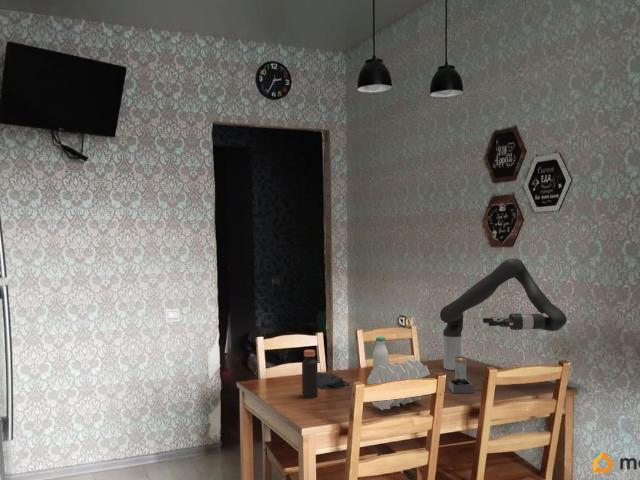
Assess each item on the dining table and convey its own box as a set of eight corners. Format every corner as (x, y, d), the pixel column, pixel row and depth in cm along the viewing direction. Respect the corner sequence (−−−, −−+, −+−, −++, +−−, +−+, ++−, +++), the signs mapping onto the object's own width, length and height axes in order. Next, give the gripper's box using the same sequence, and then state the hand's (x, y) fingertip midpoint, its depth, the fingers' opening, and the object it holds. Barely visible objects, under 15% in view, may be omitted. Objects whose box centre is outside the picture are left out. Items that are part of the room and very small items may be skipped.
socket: (448, 388, 264) (448, 380, 264) (468, 387, 265) (468, 379, 265) (453, 393, 255) (453, 385, 255) (473, 393, 256) (473, 384, 256)
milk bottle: (388, 380, 280) (387, 338, 280) (372, 379, 281) (371, 338, 281) (389, 376, 287) (389, 336, 287) (373, 375, 289) (373, 335, 289)
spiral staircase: (369, 418, 234) (409, 403, 250) (398, 408, 222) (438, 393, 238) (353, 375, 239) (393, 362, 256) (381, 363, 227) (421, 351, 243)
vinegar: (312, 399, 248) (311, 352, 248) (299, 397, 252) (298, 351, 251) (320, 395, 254) (320, 350, 254) (307, 393, 257) (307, 348, 257)
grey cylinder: (453, 387, 263) (453, 356, 263) (465, 387, 263) (464, 356, 263) (456, 390, 257) (456, 359, 258) (468, 390, 257) (468, 358, 258)
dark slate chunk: (328, 377, 289) (328, 367, 289) (351, 387, 269) (351, 377, 269) (301, 381, 282) (301, 371, 282) (323, 391, 262) (322, 381, 262)
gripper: (515, 311, 273) (481, 311, 272) (526, 315, 258) (490, 315, 258) (515, 327, 273) (481, 327, 272) (526, 332, 258) (490, 332, 258)
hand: (485, 322), depth 265 cm, fingers open, 8 cm apart
